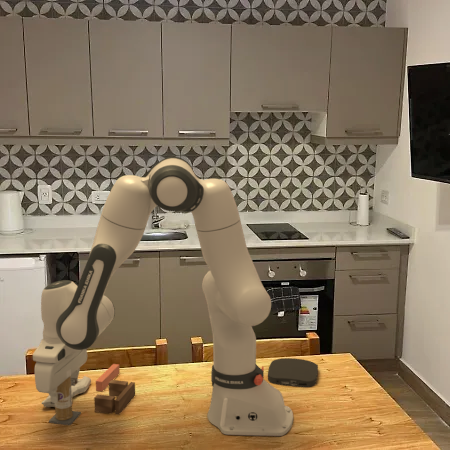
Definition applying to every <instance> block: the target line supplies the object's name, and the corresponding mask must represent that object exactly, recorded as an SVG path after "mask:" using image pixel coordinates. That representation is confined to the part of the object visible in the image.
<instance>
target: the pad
mask: <svg viewBox="0 0 450 450" xmlns="http://www.w3.org/2000/svg"><path fill="white" fill-rule="evenodd" d="M72 412H73V416H72V417H71V418H70V419H68V420H58V419H56V417H55V415H56V413H55V414H54V415H53V416H51V418H50V419H49V420H48V423H50V424H55V425H63V426H71V425H72V424H74V422H75V421H76V420H77V418H79V417H80V416H81V415H82V411H78V410H72Z"/></svg>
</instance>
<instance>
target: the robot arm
mask: <svg viewBox="0 0 450 450" xmlns="http://www.w3.org/2000/svg"><path fill="white" fill-rule="evenodd" d="M156 207H158V208H160V209H161V210H164V211H167V212H181V213H182V212H185V213H191V215H192V218H193V221H194V225H195V230H196V235H197V238H198V241H199V246H200V249H201V253H202V258H203V261H204V262H205V263H206V266H207V268H208V269H209V270H208V271H207V273H205V275H204V277H203V279H202V283H201V289H202V293H203V295H204V297H205V301H206V304H207V305H206V306H207V312H208V317H209V322H210V327H211V334H212V345H213V346H212V350H213V352H212V353H213V355H212V356H213V359H212V360H213V364H212V366H211V371H210V372H211V373H210V374H211V379H210V381H211V387H212V391H211V392H212V393H211V399H210V404H209V409H208V411H207V414H206V416H207V420H208V421H209V422H210V423H211V424H212V425H213V426H215V427H216V428H218V429H219V430H220V432H221V434H224V435H229V436H231V435H232V436H261V437H262V436H263V437H267V436H268V437H270V436H271V437H273V436H274V437H282V436H285V435H286V434H287V433H288V432H289V431H290V430H291V428H292V427H293V422H294V412H293V410H292V408H291V407H290V406H288V405H285V400H284V396H283V394H282V392H281V391H280V390H279V389H277V388H276V387H275V386H273V385H272V384H270V382H269V381H268V380H266V379H264V377H265V376H264V371H265V370H264V369H265V368H264V366H263V365H262V367H261V368H260V366H259V365H257V337H256V333H255V332H254V329H253V327H255V326H258V325H260V324H261V323H263V322H264V321H265V320H266V319H267V318H268V317H269V315H270V313H271V310H272V309H271V308H272V300H271V296H270V295H269V293H268V292H267V290H266V288H265V287H264V285H263V283H262V281H261V279H260V278H261V277H260V276H259V273H258V272H257V269H256V266H255V264H254V261H253V259H252V257H251V254H250V252H249V250H248V246H247V242H246V238H245V234H244V231H243V226H242V221H241V217H240V213H239V209H238V206H237V202H236V200H235V198H234V195H233V192H232V190H231V187H230V186H229V184H228V183H227V182H226V181H225V180H222V179H220V178H207V179H202V178H201V179H200V177H197V175H196V173H195V171H194V169H193V167H192V165H191V164H190V163H189V162H188V161H187V160H185V159H183V158H181V157H178V156H168V157H164V158H163V159H161V160H159V161H158V162H157V163H156V164H155V165H153V167H151V168H150V169H149V170H147V171H146V172H145V173H144V176H143V177H142V176H138V175H134V174H133V175H132V174H126V175H123V176H120V177H118V178H117V180H115V183H114V184H113V186H112V187H111V190H110V191H109V194H108V196H107V198H106V200H105V202H104V205H103V208H102V211H101V214H100V217H99V221H98V224H97V228H96V231H95V235H94V238H93V242H92V245H91V249H90V251H89V255H88V259H87V260H86V263H85V266H84V269H83V271H82V273H81V274H82V275H81V276H80V279H79V281H78V285H77V284H76V283H75V282H74V281H72V280H68V279H67V280H66V279H63V280H58V281H54V282H51V283H50V284H48V285H46V286H45V287H44V288H43V290H42V292H41V300H40V301H41V302H40V312H41V315H40V316H41V320H42V323H43V329H42V339H41V340H40V343H39V344H38V347H37V348H36V349H35V350H34V352H33V354H32V360H33V362H36V363H35V364H34V380H35V381H34V382H35V389H36V390H37V391H38V392H39V393H43V394H47V395H48V396H49V395H50V397H51V402H52V403H57V402H58V401H59V400H60V394H57V392H56V391H57V387H58V386H59V385H60V384H61V383H63V382H64V381H65V380H66V379H67V371H68V370H69V369H71V386H75V385H76V384H77V383H78V379H79V374H80V371H81V369H80V368H81V367H82V366H83V365H84V364H86V362H87V361H88V360H87V359H88V348H89V349H90V347H92V345H94V343H96V340H97V339H98V337H99V336H100V335H102V333H103V332H104V331H105V329H106V328H108V326H109V325H110V324H111V323H112V321H114V318H115V314H116V307H115V306H114V303H113V301H112V300H111V298H109V297H108V296H107V295H105V293H106V290H107V287H108V285H109V283H110V281H111V279H112V277H113V276H114V274H115V273H116V272H117V270H118V269H119V268H120V267H121V266H122V264H123V263H125V261H126V260H128V259H129V258H130V256H132V254H133V253H134V252H135V250H137V247H138V245H139V243H140V242H141V240H142V238H143V235H144V233H145V230H146V228H147V224H148V223H149V222H148V221H149V218H150V216H151V214H152V212H153V210H154V209H155V208H156Z"/></svg>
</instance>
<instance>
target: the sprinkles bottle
mask: <svg viewBox="0 0 450 450" xmlns="http://www.w3.org/2000/svg"><path fill="white" fill-rule="evenodd" d="M56 392H57V394H60V400H59V401H58V402H57V403H55V407H54V408H55V409H54V412H55V414H56V415H55V414H54V415H55V417H56V419H58V420H68V419H70V418H71V417H72V416H73V412H72V411H73V397H72V391H71V369H69V370H68V371H67V379H66V380H65V381H64V382H63V383H61V384H60V385H59V386H58V387H57V391H56Z"/></svg>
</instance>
